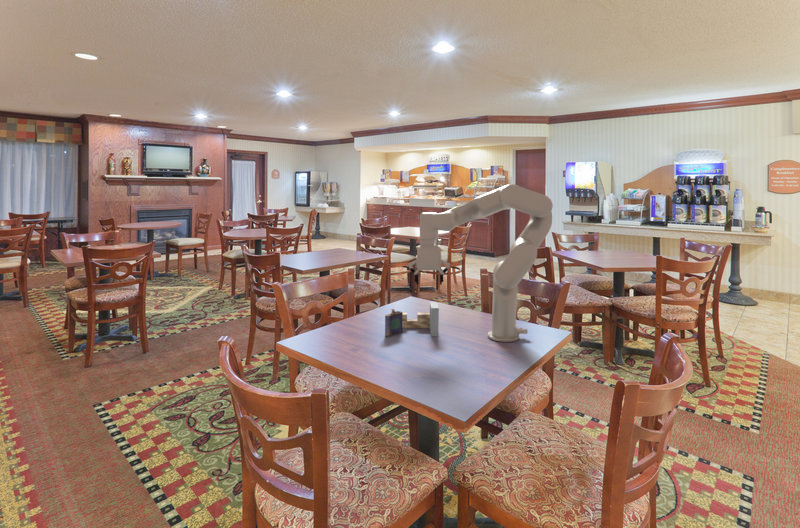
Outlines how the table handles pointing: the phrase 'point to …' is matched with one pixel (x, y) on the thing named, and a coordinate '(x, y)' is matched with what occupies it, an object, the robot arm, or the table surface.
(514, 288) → the robot arm
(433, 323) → the flat gray plate
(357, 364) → the table surface
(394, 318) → the flask
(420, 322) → the rail
